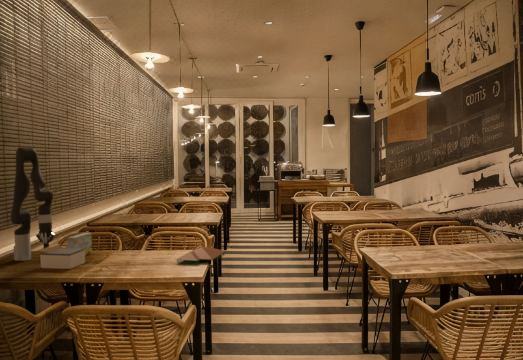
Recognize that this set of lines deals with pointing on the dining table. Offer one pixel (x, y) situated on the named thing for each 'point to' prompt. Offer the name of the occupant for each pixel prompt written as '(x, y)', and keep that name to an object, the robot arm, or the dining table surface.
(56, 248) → the mailer lid
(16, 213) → the robot arm
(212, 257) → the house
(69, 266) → the box
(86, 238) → the snack box
